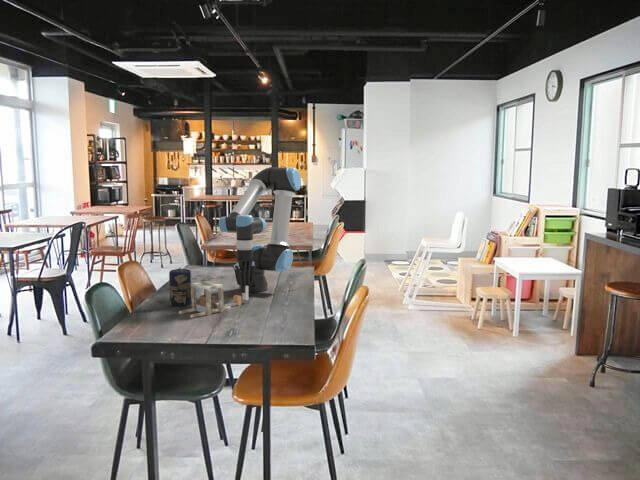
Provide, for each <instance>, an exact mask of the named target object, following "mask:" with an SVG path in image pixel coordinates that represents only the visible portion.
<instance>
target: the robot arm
mask: <svg viewBox="0 0 640 480" xmlns="http://www.w3.org/2000/svg"><path fill="white" fill-rule="evenodd" d="M301 186H302V179H301V174H300V172H299V170H298V169H297V168H295V167H289V166H286V167H273V166H272V167H266V168H264V169H262V170H260V171H259V172H258V173H256V174H255V175H254V176H253V177H252V178H251V180H250V181H249V183H248V187H247V188H246V190H245V192H244V193H243V194H242V196H241V197H240V199H239V200H238V201H237V203H236V205H235V206H234V207H233V209H232V210H231V211H230V213H229V215H228V216H226V215H225V216H221V217H220V219H219V221H218V227H219V230H220V231H221V232H222V233H228V234H229V233H230V234H231V233H233V234H234V233H235V234H236V258H237V260H236V263H235V264H232V269H233V270H234V275H235V279H236V284H237V285H238V291H240V292H241V300H244V301H249V293H259V292H265V291H267V290H268V289H269V284H268V282H267V281H268V280H267V279H266V275H265V274H266V273H265V271H267V272H277V273H279V272H280V273H281V272H282V273H285V272H287V271H288V270H289V269H290V268H291V266H292V264H293V261H294V255H293V254H294V253H293V251H292V250H291V247H290V245H289V243H288V239H289V230H290V223H291V222H290V220H291V212H292V211H291V210H292V205H293V203H292V201H293V197H295V196H296V194H297V193H296V192H298V191H300V189H301ZM270 190H272V192H273V194H274V195H275V200H274V207H273V208H274V210H273V216H272V225H271V232H270V233H271V234H270V241H269V242H268V243H267V245H266V247H265V245H264V244H254V235H258V234H261V233H264V232H265V231H266V228H267V222H266V220H265V219H264V218H263V217H259V216H258V217H257V216H256V217H254V216H253V215H251V214H250V212H251V211H252V209H253V208H254V206H255V204H256V203H257V202H258V201H259V199H260V197H261V196H262V195H264V194H265V193H266V192H267V191H270Z"/></svg>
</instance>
